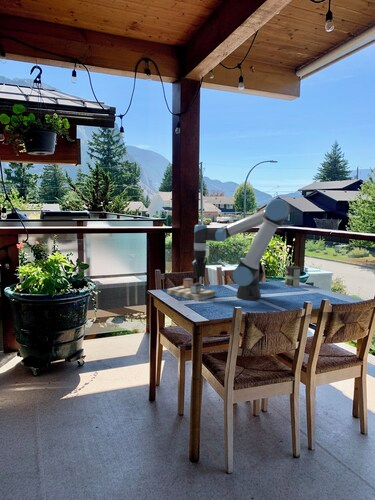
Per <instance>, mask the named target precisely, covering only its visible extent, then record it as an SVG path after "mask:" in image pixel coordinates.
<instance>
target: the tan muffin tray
mask: <svg viewBox="0 0 375 500" xmlns="http://www.w3.org/2000/svg"><path fill="white" fill-rule="evenodd" d="M190 292H191V287H189V288H187V287H183V285H179V286H175V287H170V288H167V289H166V294H167V295H169V296H170V295H171V296H174V297H180V298H185V299H189V300H193V301H198V302H200V301H203V300H206V299H207V300H208V299H210V298H213V297H216V291H215V290H212V289H211V290H210V289H205V288H201V292H200V293H197V294H194V293H190Z"/></svg>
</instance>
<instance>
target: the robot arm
mask: <svg viewBox="0 0 375 500" xmlns="http://www.w3.org/2000/svg"><path fill="white" fill-rule="evenodd" d="M290 213H291V205H290V204H289V202H288V201H286V200H285V199H281V198H273V199H271V200H270V201H269V202H268V203H267V205H266V206H265V207H264V209H262V210H260V211H258V212H256V213H253V214H251V215H248V216H246V217H244V218H241V219H239V220H236V221H234V222H232V223H229V224H227V225H224V226H222V227H218V228H211V227H210V228H208V225H207V224H195V225H194V230H193V233H194V234H193V237H194V238H193V256H194V259H193V261H191V265H192V273H193V277H195V278H196V279H195V283H198V284H201V285H202V281H203V278H204V276H205V273H206V272H205V271H206V267H207V263H208V260H207V259H206V258H205V257H206V255H207V251H206V249H207V241H209V242H219V243H220V242H226V240H227V239H229V238H231V237H233V236H235V235H238V234H241V233H244V232H246V231H248V230H250V229H253V228H256V227H257V226H258V227H259V226H260V227H259V230H258V231H257V233H256V234H255V237H254V239H253V240H252V242H251V245H250V246H249V249H248V250H247V253H246V255H245V257H244V258H241V259H240V260H239V263H238V265H237V267H236V268H234V270H233V272H232V279H233V281H234V283H235V284H237V285H238V287H237V288H238V289H237V292H236V298H238V299H240V300H243V301H244V300H246V301H256V300H261V298H262V294H261V293H262V292H261V290H260V286H259V283H260V282H259V267H260V266H259V263H261V260H262V259H263V256H264V254H265V253H266V250H267V248H268V246H269V244H270V242H271V241H272V238H273V236H274V235H275V232H276V231H277V229H278V228H280V227H282V225H283V223H284V221H285V220H286V218H287V217H289V215H290Z"/></svg>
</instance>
